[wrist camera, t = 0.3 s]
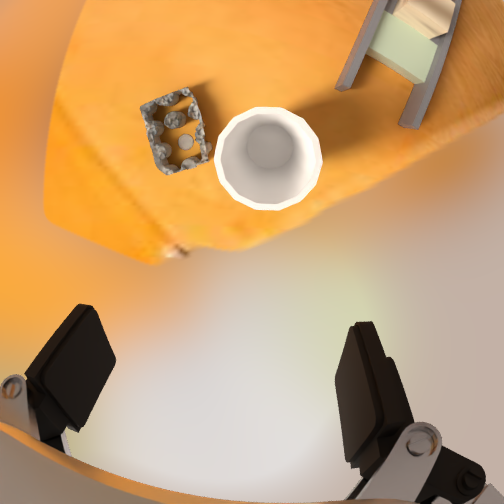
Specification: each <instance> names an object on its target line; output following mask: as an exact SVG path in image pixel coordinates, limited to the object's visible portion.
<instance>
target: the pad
mask: <svg viewBox="0 0 504 504" xmlns="http://www.w3.org/2000/svg"><path fill="white" fill-rule="evenodd" d="M437 46H438V45H436V44H435V43H434V42H432V41H431V40H430V39H428V38H427V37H425V36H424V35H423V34H421V33H420V32H418V31H417V30H415V29H414V28H412V27H411V26H409V25H408V24H406V23H405V22H403V21H402V20H400V19H398V18H397V17H395V16H393V15H392V14H390V13H388V12H387V11H385V10H384V11H383V13H382V16H381V18H380V21H379V23H378V25H377V28H376V30H375V32H374V35H373V37H372V40H371V42H370V44H369V47H368V49H367V51H366V53H365V54H367V55H369V56H370V57H372V58H374V59H376V60H377V61H379V62H381V63H382V64H384V65H386V66H387V67H389V68H391V69H392V70H394V71H395V72H397V73H399V74H400V75H402V76H403V77H405V78H406V79H408V80H409V81H411V82H412V83H414V84H419V83H424V82H425V80H426V77H427V74H428V72H429V69H430V66H431V64H432V61H433V58H434V55H435V52H436V49H437Z"/></svg>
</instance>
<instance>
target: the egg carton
mask: <svg viewBox="0 0 504 504" xmlns="http://www.w3.org/2000/svg"><path fill="white" fill-rule="evenodd" d="M182 93H183V95H185V96H189V97H192V98H193V102H192V104H191V105H190V106H189V110H188V116H189V117H191V118H193V119H196V120H197V119H199V120H200V124H199V125H198V126H197V127H196V132H195V136H196V139H195V140H196V141H197V142H198V143H199V144H200V150H201V153H202V160H201V161H200V159H199V158H197V157H194V156H193V157H190V158H187V159H185V160H184V161H183V162H182V165H181V169H179V168H178V167H177V166H176V165H174V164H171V165H169V163H168V161H167V158H168V157H169V156H170V155H171V153H172V148H171V146H170V145H169V144H168V143H162V142H161V140H160V137H159V136H160V135H161V134H162V133H163V132H164V125H166V126H167V127H168V128H170V129H175V128H180V127H182V126H183V125H184V124H185V122H186V116H185V114H184V113H182V112H178V111H173V112H170V113H168V114H167V115H166V117H165V119H164V125H163V123H162V122H161V121H157V120H156V121H154V119H153V116H152V114H154V113H155V112H156V110H157V104H158V105H164V106H173V105H175V104H176V103H177V102H178V100H179V94H182ZM197 104H198V101H197V99H196V97H193V93H192V92H190V90H189V89H188V87H186V88H183V89H181V90H178V91H175V92H172V93H170V94H167V95H165V96H162V97H160V98H157V99H154V100H153V101H150V102H148V103H146V104H144V105H142V106H140V110H141V113H142V116H143V119H144V121H145V125H146V126H145V127H146V129H147V137H148V139H149V142H150V146H151V149H152V152H153V156H154V161H155V164H156V166H157V168H158V169H159V170H160V171H162V172H163V173H164V174H166V175H170V174H173V173H177V172H180V171H182V170H185V169H191V168H195V167H197V166H196V165H199V164H203V163H206V162H209V161H210V160H208V153H209V152H210V151H211V150H212V145H211V142H206V141H204V137H205V133H204V129H203V127H205V124H204V122H203V120H202V117H201V113H200V110H199V108H198V106H197ZM193 143H194V140H193V138H192V136H190V135H189V134H183V135H181V136H180V138H179V140H178V145H179V147H180V148H181V149H183V150H189V149H190V148H191V147H192V146H193Z"/></svg>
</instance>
